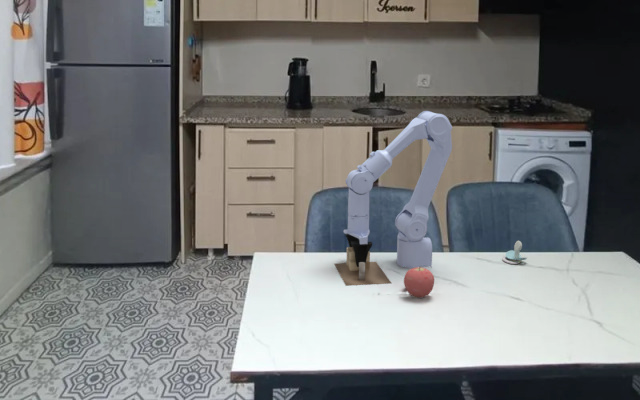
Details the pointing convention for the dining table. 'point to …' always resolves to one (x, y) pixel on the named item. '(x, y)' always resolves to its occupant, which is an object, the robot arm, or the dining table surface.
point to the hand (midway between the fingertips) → (357, 262)
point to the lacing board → (369, 275)
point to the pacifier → (514, 254)
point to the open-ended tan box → (352, 262)
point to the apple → (419, 282)
